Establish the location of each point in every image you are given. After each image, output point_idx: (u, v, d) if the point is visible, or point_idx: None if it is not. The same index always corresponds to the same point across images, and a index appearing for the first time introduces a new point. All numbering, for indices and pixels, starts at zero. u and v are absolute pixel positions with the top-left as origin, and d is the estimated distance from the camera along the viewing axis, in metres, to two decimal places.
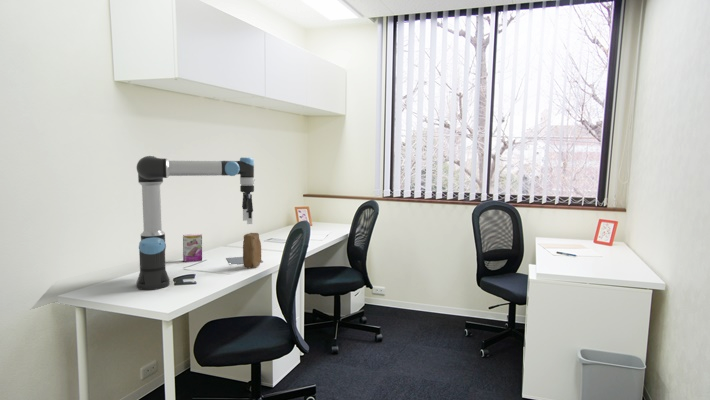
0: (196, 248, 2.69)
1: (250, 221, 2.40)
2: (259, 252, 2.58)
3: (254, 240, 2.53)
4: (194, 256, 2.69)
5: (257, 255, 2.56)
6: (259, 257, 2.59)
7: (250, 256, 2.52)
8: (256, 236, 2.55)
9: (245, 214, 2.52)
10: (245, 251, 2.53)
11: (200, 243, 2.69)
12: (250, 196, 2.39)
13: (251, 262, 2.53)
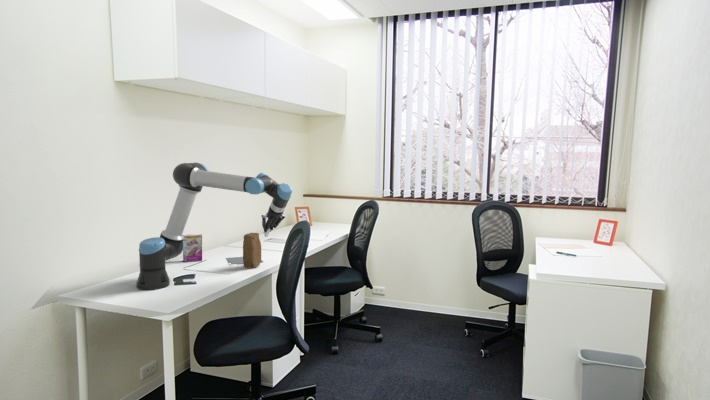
0: (196, 248, 2.69)
1: (265, 233, 2.38)
2: (259, 252, 2.58)
3: (254, 240, 2.53)
4: (194, 256, 2.69)
5: (257, 255, 2.56)
6: (259, 257, 2.59)
7: (250, 256, 2.52)
8: (256, 236, 2.55)
9: None
10: (245, 251, 2.53)
11: (201, 243, 2.69)
12: None
13: (251, 262, 2.53)
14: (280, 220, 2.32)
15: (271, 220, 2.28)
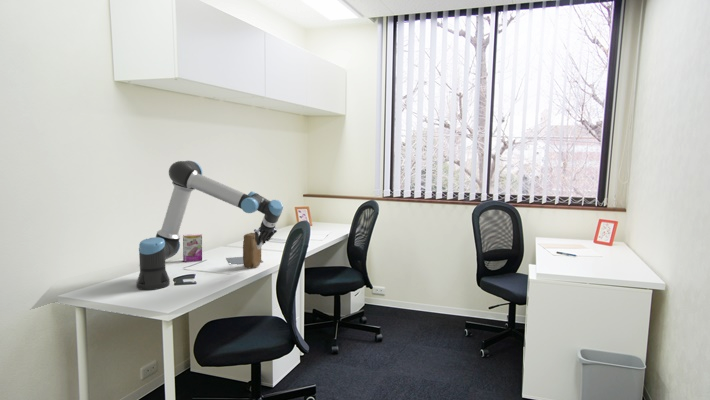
0: (196, 248, 2.69)
1: (257, 246, 2.48)
2: (259, 252, 2.58)
3: (254, 240, 2.53)
4: (194, 256, 2.69)
5: (257, 255, 2.56)
6: (259, 257, 2.59)
7: (250, 256, 2.52)
8: None
9: None
10: (245, 251, 2.53)
11: (200, 243, 2.69)
12: (255, 233, 2.36)
13: (251, 262, 2.53)
14: (272, 234, 2.42)
15: (263, 234, 2.38)
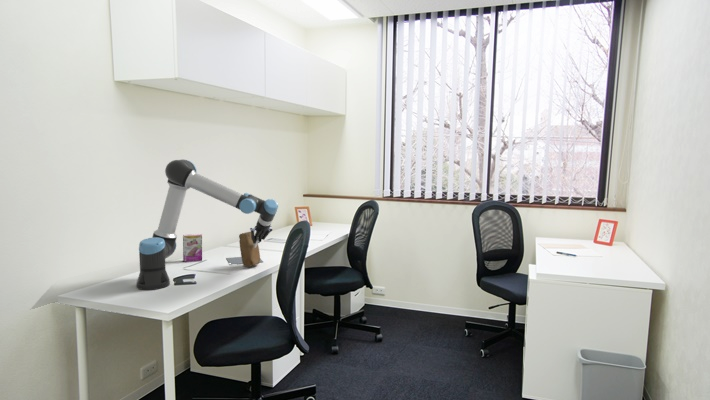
0: (196, 248, 2.69)
1: (254, 244, 2.54)
2: (257, 250, 2.59)
3: (250, 237, 2.55)
4: (194, 256, 2.69)
5: (255, 253, 2.57)
6: (257, 255, 2.59)
7: (248, 253, 2.53)
8: None
9: None
10: (242, 250, 2.54)
11: (200, 243, 2.69)
12: (251, 231, 2.42)
13: (250, 259, 2.53)
14: (268, 232, 2.48)
15: (259, 233, 2.44)
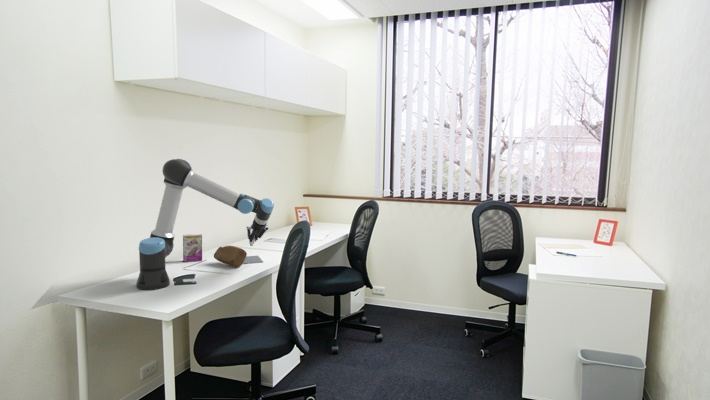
0: (196, 248, 2.69)
1: (250, 243, 2.58)
2: (230, 249, 2.59)
3: (217, 253, 2.61)
4: (194, 256, 2.69)
5: (229, 253, 2.57)
6: (233, 250, 2.57)
7: (225, 261, 2.55)
8: (217, 250, 2.63)
9: None
10: (226, 263, 2.59)
11: (201, 243, 2.69)
12: (247, 230, 2.46)
13: (229, 261, 2.53)
14: (264, 231, 2.52)
15: (255, 231, 2.48)
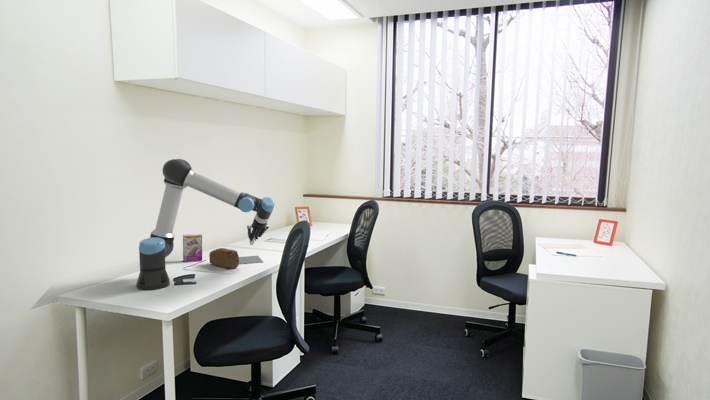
0: (196, 248, 2.69)
1: (250, 242, 2.58)
2: (220, 255, 2.54)
3: (212, 261, 2.59)
4: (194, 256, 2.69)
5: (222, 259, 2.53)
6: (223, 256, 2.52)
7: (223, 267, 2.55)
8: (210, 257, 2.60)
9: None
10: None
11: (200, 243, 2.69)
12: None
13: None
14: (264, 230, 2.52)
15: (256, 230, 2.48)
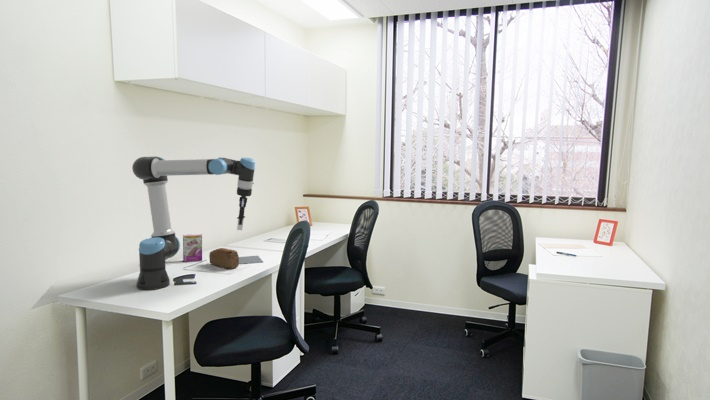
0: (196, 248, 2.69)
1: (240, 227, 2.32)
2: (220, 255, 2.54)
3: (212, 261, 2.59)
4: (194, 256, 2.69)
5: (221, 259, 2.53)
6: (223, 256, 2.52)
7: (223, 267, 2.55)
8: (210, 257, 2.60)
9: None
10: None
11: (200, 243, 2.69)
12: (243, 206, 2.24)
13: None
14: None
15: None
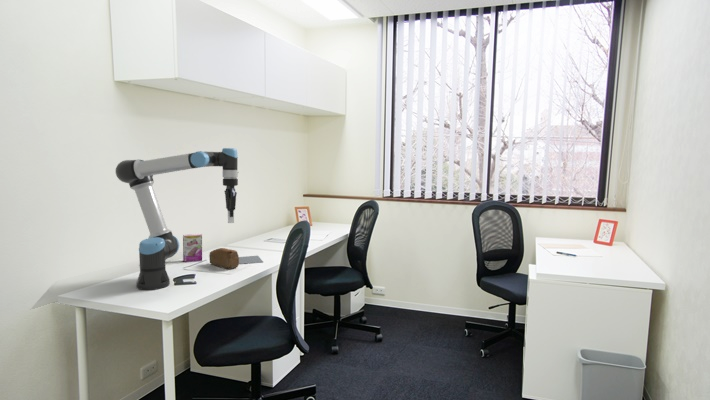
0: (196, 248, 2.69)
1: (232, 220, 2.28)
2: (220, 255, 2.54)
3: (212, 261, 2.59)
4: (194, 256, 2.69)
5: (221, 259, 2.53)
6: (223, 256, 2.52)
7: (223, 267, 2.55)
8: (210, 257, 2.60)
9: None
10: None
11: (200, 243, 2.69)
12: (235, 194, 2.23)
13: None
14: None
15: None
